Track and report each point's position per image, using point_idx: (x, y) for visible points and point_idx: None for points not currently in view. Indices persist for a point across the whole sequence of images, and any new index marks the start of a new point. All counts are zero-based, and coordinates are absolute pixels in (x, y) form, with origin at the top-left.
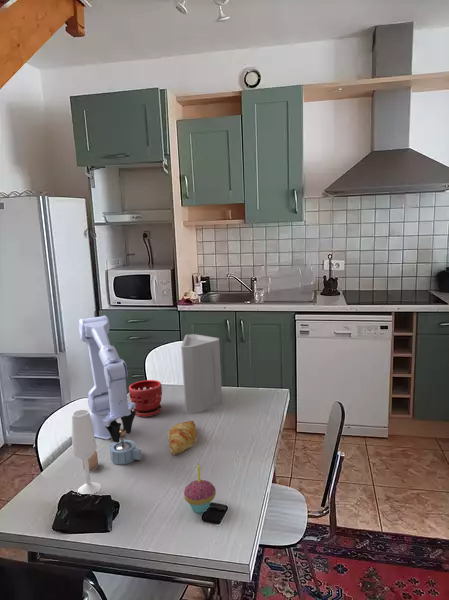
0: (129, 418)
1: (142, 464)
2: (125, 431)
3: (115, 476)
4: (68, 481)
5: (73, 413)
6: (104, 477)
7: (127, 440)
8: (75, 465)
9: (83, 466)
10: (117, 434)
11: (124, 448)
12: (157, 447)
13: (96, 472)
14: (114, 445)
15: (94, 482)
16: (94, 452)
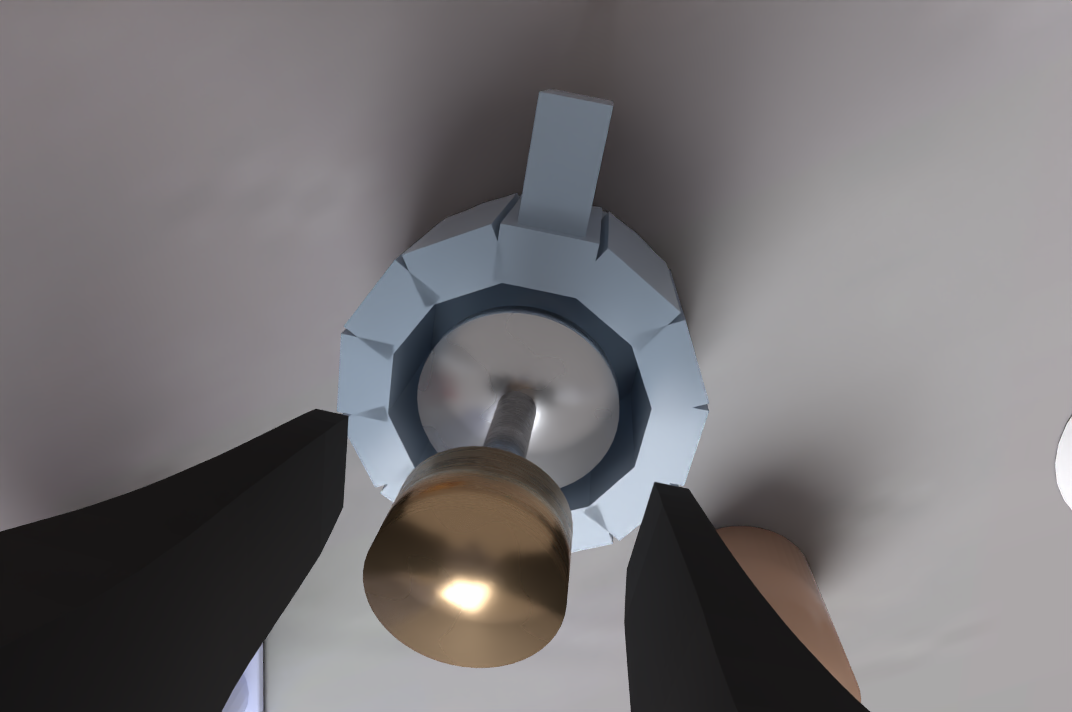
0: (98, 666)
1: (654, 27)
2: (464, 501)
3: (948, 268)
4: (1001, 662)
5: None
6: (959, 383)
7: (355, 409)
8: None
9: None
10: (780, 618)
11: (569, 364)
12: (201, 2)
13: (850, 497)
14: None
15: (1070, 442)
16: None
